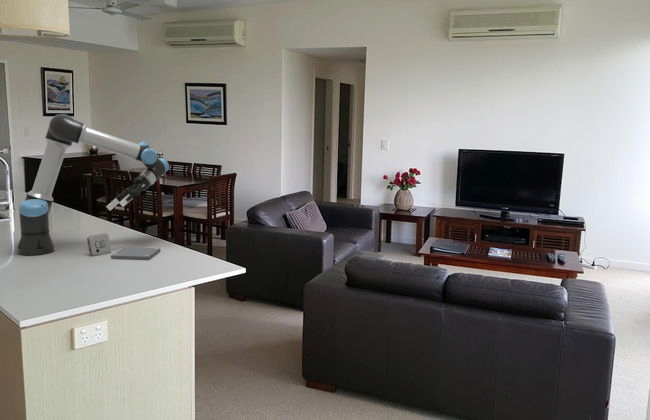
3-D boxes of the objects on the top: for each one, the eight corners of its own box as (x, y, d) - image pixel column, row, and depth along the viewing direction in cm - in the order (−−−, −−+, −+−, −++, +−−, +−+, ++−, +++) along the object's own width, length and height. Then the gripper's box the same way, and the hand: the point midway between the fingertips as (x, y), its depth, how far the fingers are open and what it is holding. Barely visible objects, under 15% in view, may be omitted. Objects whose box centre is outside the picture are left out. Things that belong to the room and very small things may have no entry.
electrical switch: (92, 256, 251) (90, 236, 250) (86, 255, 254) (84, 235, 253) (111, 253, 258) (110, 233, 257) (105, 252, 261) (104, 232, 260)
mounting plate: (111, 258, 248) (110, 254, 247) (124, 250, 263) (124, 246, 263) (148, 260, 247) (148, 256, 247) (160, 251, 263) (160, 247, 263)
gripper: (162, 182, 273) (132, 209, 259) (137, 190, 290) (107, 216, 276) (152, 170, 270) (121, 196, 257) (128, 179, 287) (97, 204, 274)
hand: (114, 206), depth 266 cm, fingers open, 13 cm apart
